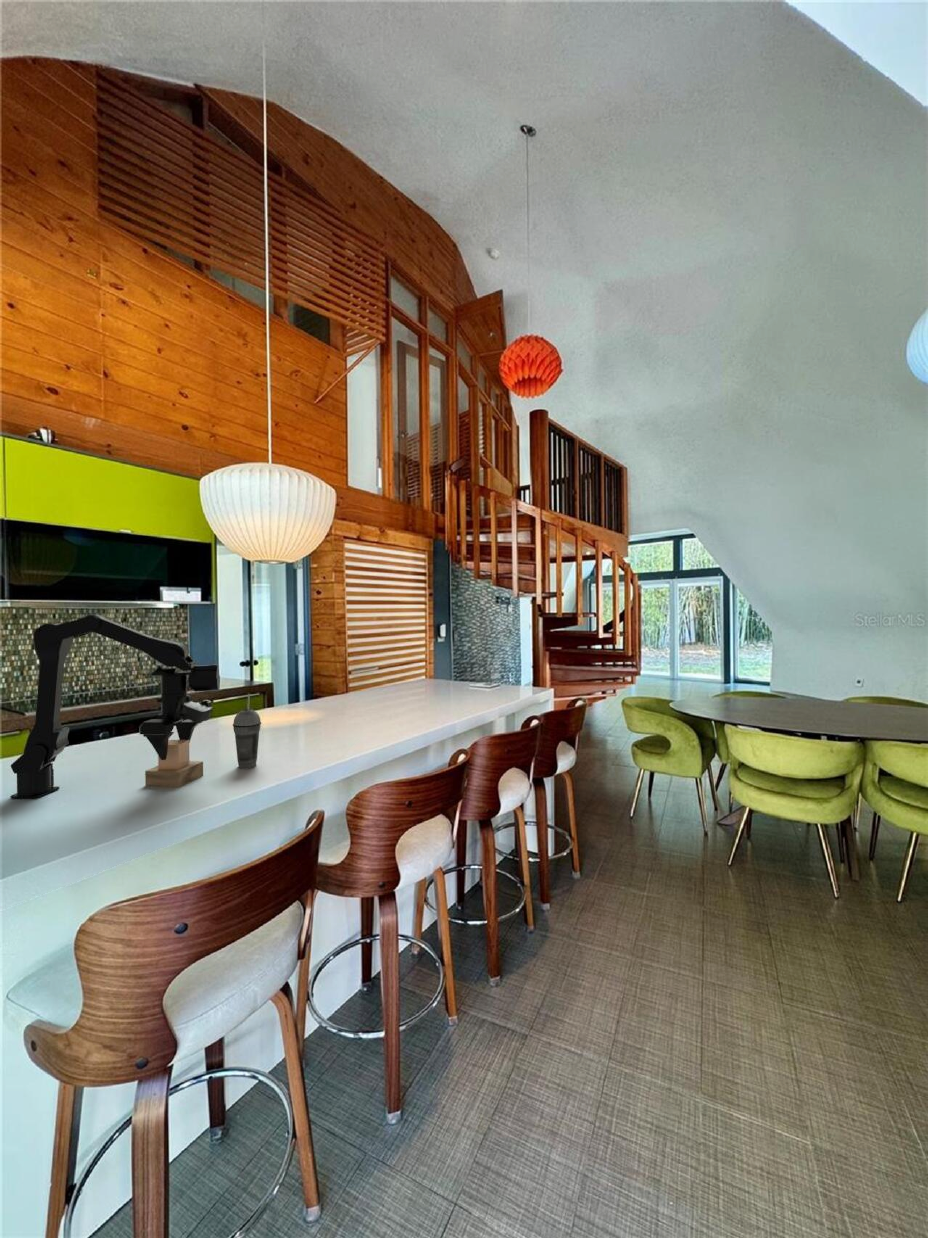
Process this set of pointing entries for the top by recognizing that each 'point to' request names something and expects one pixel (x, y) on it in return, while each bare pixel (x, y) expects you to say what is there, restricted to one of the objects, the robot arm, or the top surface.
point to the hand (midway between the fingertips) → (174, 754)
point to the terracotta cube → (175, 755)
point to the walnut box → (174, 775)
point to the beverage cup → (247, 736)
